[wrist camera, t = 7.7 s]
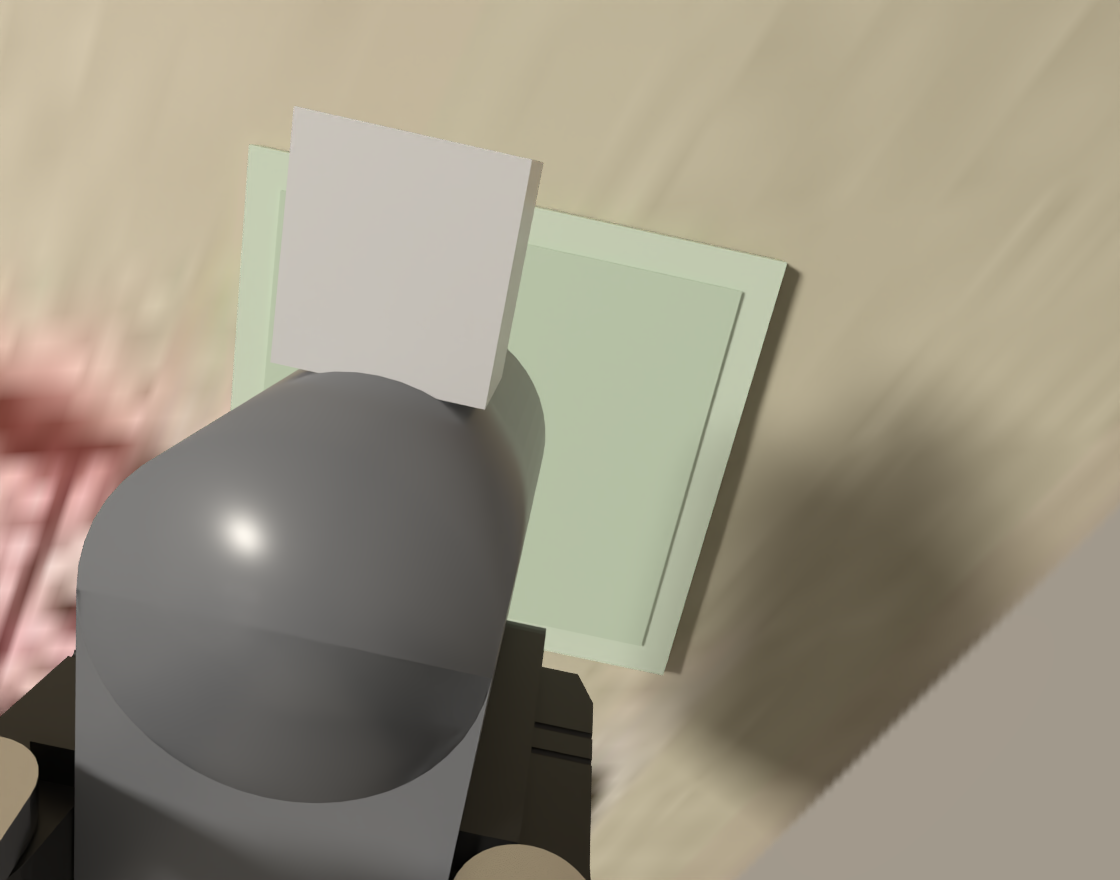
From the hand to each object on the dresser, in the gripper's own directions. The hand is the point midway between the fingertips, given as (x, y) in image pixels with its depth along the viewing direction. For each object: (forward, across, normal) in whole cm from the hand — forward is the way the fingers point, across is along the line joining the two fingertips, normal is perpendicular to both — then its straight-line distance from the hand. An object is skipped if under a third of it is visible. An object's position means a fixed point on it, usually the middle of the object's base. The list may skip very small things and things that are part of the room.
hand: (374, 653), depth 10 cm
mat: (+9, 0, 0) cm, 9 cm away
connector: (+1, 0, -1) cm, 1 cm away
